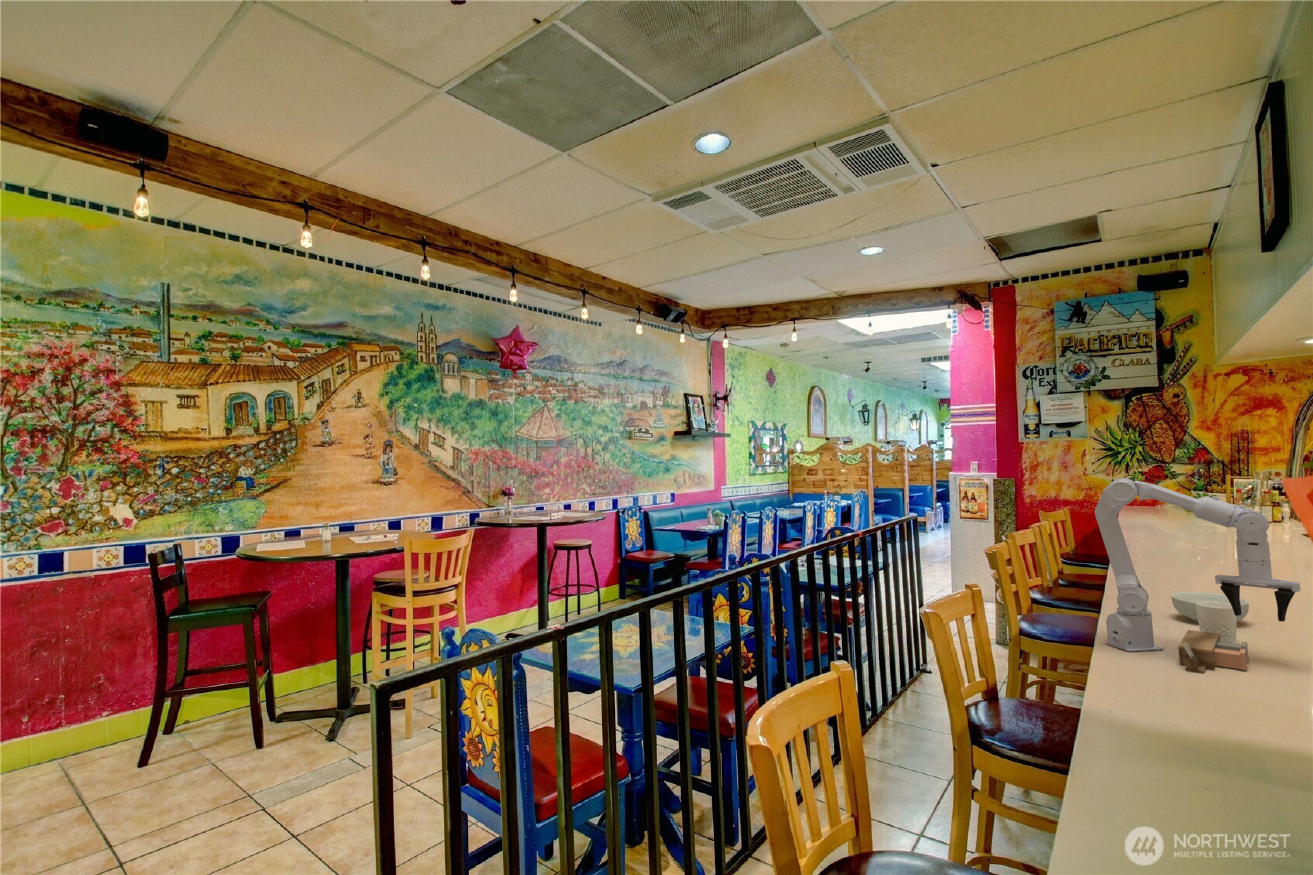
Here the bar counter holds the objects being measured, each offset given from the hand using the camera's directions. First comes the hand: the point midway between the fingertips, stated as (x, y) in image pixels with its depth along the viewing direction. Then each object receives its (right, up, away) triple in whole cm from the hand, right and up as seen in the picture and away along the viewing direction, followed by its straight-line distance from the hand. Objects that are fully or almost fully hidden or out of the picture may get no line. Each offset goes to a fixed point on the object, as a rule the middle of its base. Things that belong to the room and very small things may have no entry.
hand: (1259, 617), depth 146 cm
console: (-12, -11, +3) cm, 16 cm away
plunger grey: (-5, -11, +3) cm, 12 cm away
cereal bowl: (+20, -12, +34) cm, 41 cm away
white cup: (+4, -11, +15) cm, 19 cm away
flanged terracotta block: (-10, -11, -2) cm, 15 cm away
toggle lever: (-19, -9, -4) cm, 21 cm away
